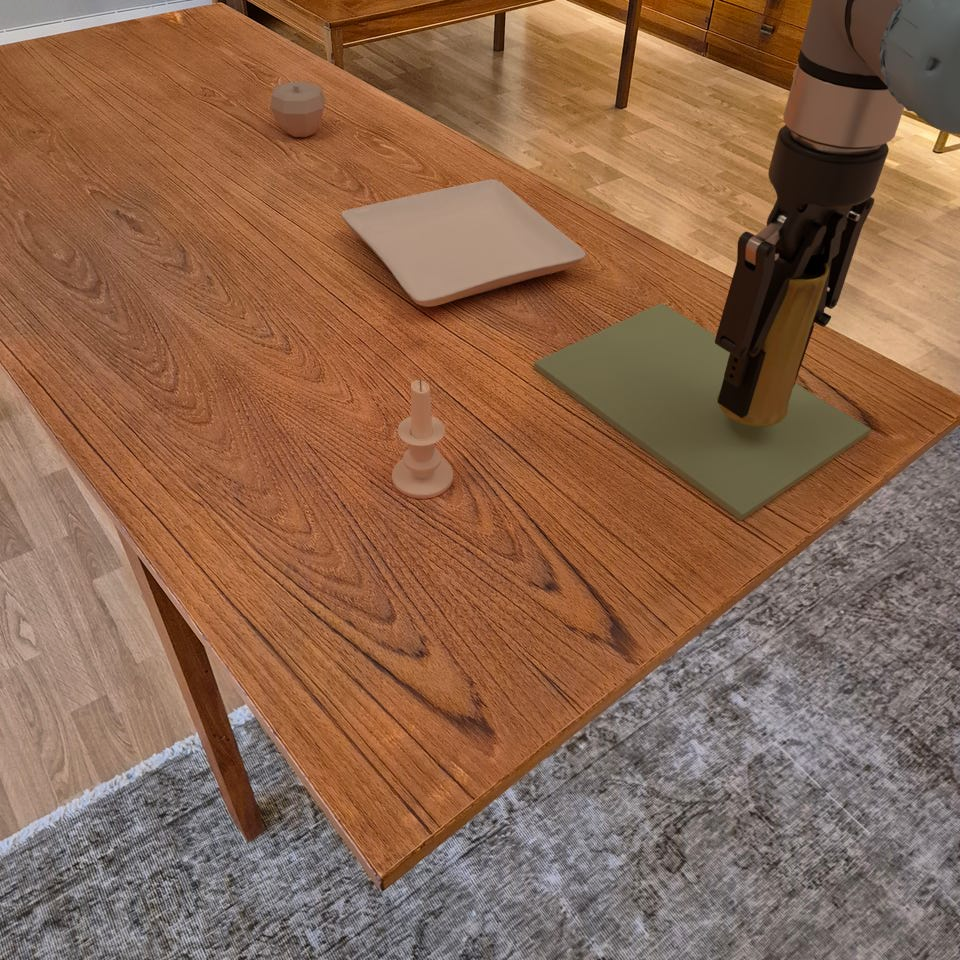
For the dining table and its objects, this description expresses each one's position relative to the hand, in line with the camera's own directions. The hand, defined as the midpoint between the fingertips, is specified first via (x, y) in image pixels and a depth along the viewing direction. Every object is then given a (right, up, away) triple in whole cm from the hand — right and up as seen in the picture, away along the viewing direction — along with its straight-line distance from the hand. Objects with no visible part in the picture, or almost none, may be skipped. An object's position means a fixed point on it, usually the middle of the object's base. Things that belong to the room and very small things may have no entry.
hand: (755, 394), depth 78 cm
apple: (-50, +42, +49) cm, 81 cm away
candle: (-29, -7, -2) cm, 30 cm away
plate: (-26, +18, +25) cm, 40 cm away
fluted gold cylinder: (0, -1, +1) cm, 2 cm away
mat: (-4, 0, +6) cm, 7 cm away
